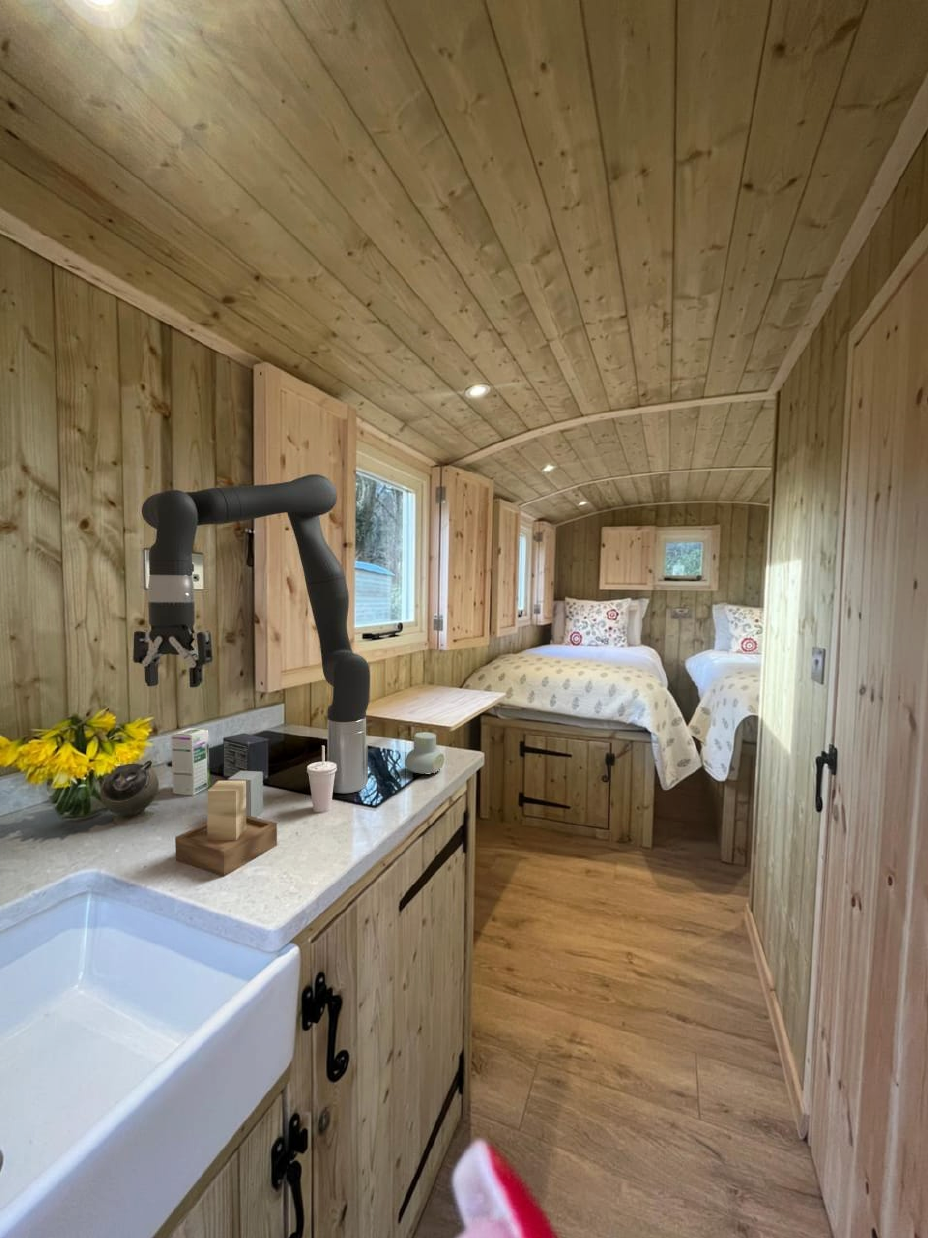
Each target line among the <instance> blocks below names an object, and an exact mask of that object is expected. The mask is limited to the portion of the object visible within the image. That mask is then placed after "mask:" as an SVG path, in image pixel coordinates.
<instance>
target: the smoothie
mask: <svg viewBox="0 0 928 1238" xmlns="http://www.w3.org/2000/svg"><path fill="white" fill-rule="evenodd" d="M325 749H326V748H325V745H321V761H316V762H312V763H310V764H308V765H307V767H306V773H307V774H308V779H309V786H310V793H311V801H312V809H313V812H315V813H326V812H328V810H329V811H330V810H331V808H332V802H333V801H332V800H333V793H334V792H333V785H334V777H335V771H336V770H337V765H336V764H335V763H333V762H328V761H325V760H326V759H325V755H326V753H325V751H326V750H325Z"/></svg>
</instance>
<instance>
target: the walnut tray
mask: <svg viewBox="0 0 928 1238" xmlns="http://www.w3.org/2000/svg"><path fill="white" fill-rule="evenodd" d="M277 824H278V823H277V822H274V821H271V820H266V819H262V818H259V817H257V818H255V817H251V816H247V815H246V828H245V830H244V831H243V832H242V833H241V835H240V836H239V837H238V839H237V840H209V841H207V822H205V823H203V824H201V825H198V826H195V828H191V829H189V830H187V831H185V832H183V833H181V834H178V835H176V836H175V839H174V840H175V842H174V843H175V845H174V846H175V847H174V848H175V862H177V863H181V864H184V865H188V866H190V867H193V868H196V869H200V870H203V871H206V872H209V873H212V874H214V875H218V876H220V877H223V878H224V877H226V876H227V875H230V874H232V873H234V872H235V871H236V870H238V869H240V868H241V867H243V866H245V865H247V864H248V863H250V862H252V861H253V860H255V859H257V858H259V857H261V856H262V855H265V854H266V853H268V852H269V851H270V850H272V849H274V848H275V847H277V846H278V825H277Z"/></svg>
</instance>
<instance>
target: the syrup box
mask: <svg viewBox="0 0 928 1238" xmlns="http://www.w3.org/2000/svg"><path fill="white" fill-rule="evenodd" d="M170 735H171V736H170V737H171V738H170V740H171V766H172V767H171V768H172V791H173V794H174V795H181V796H196V795H197V794H199V793H201V792H202V791H204V790H206V789H210V788H211V781H210V780H211V779H210V776H211V775H210V774H211V773H210V752H209V751H210V750H209V749H210V748H209V747H210V746H209V742H210V741H209V730H208V729H207V728H199V727H192V728H186V729H184V730H181V731H178V732H175V733H172V734H170Z"/></svg>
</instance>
